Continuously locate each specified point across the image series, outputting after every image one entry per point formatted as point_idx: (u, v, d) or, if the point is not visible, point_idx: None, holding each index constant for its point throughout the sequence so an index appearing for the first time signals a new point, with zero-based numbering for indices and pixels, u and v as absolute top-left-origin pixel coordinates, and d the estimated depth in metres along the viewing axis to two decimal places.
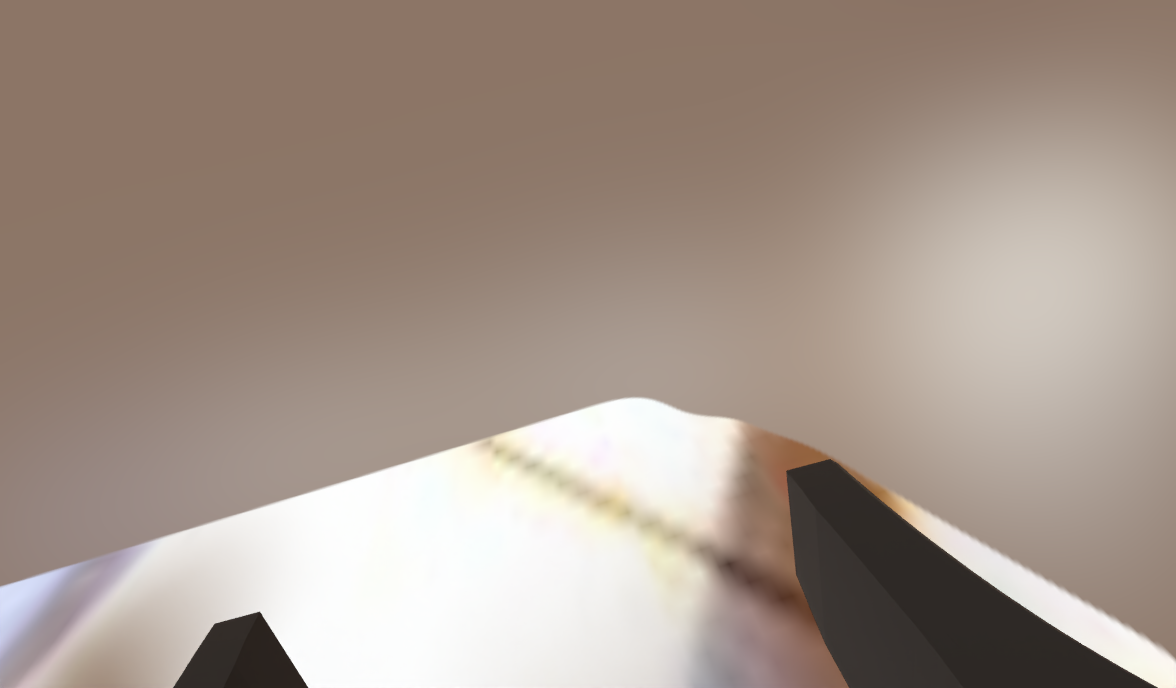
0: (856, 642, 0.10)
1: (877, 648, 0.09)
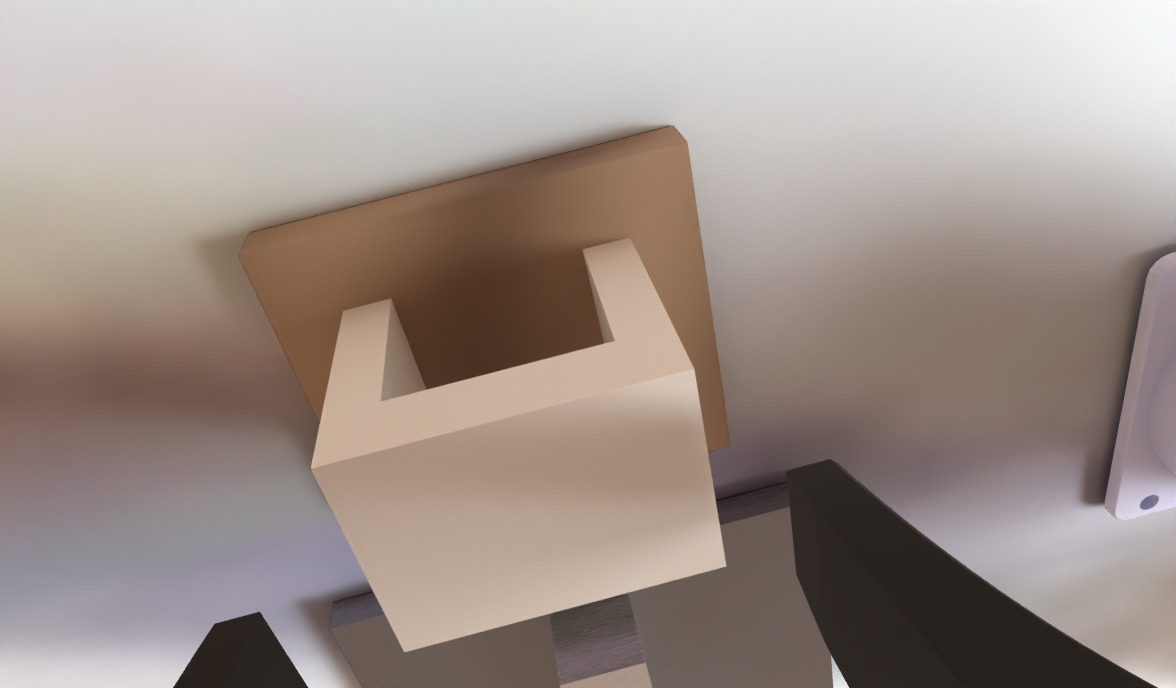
0: (856, 642, 0.10)
1: (877, 648, 0.09)
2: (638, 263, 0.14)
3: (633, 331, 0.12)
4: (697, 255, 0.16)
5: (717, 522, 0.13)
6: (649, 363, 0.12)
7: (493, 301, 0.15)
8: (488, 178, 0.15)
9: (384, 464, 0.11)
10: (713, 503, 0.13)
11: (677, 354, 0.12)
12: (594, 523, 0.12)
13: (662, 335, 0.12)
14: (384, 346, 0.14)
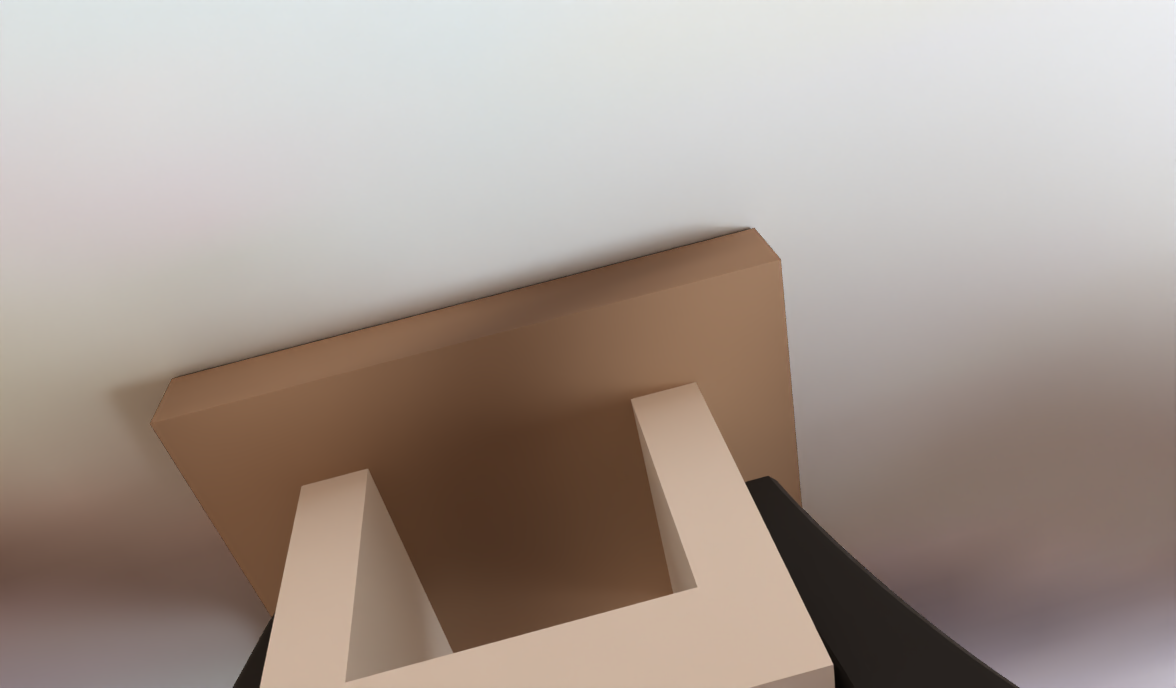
0: None
1: None
2: (714, 431, 0.10)
3: (724, 569, 0.08)
4: (786, 401, 0.11)
5: None
6: (758, 643, 0.08)
7: (508, 467, 0.11)
8: (501, 304, 0.11)
9: None
10: None
11: (800, 627, 0.08)
12: None
13: (770, 583, 0.08)
14: (356, 562, 0.09)
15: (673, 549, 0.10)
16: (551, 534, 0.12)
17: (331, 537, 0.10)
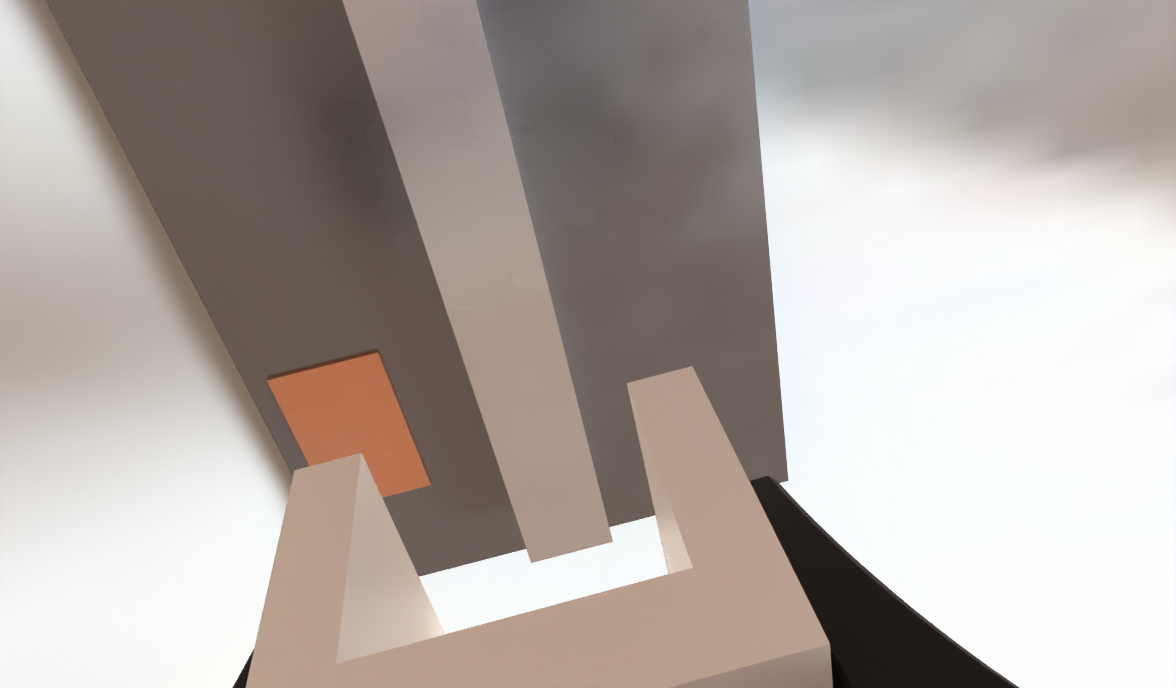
0: None
1: None
2: (710, 415, 0.10)
3: (721, 551, 0.08)
4: None
5: None
6: (755, 623, 0.07)
7: None
8: None
9: None
10: None
11: (796, 607, 0.08)
12: None
13: (766, 563, 0.08)
14: (348, 546, 0.09)
15: (669, 533, 0.10)
16: None
17: (324, 520, 0.10)
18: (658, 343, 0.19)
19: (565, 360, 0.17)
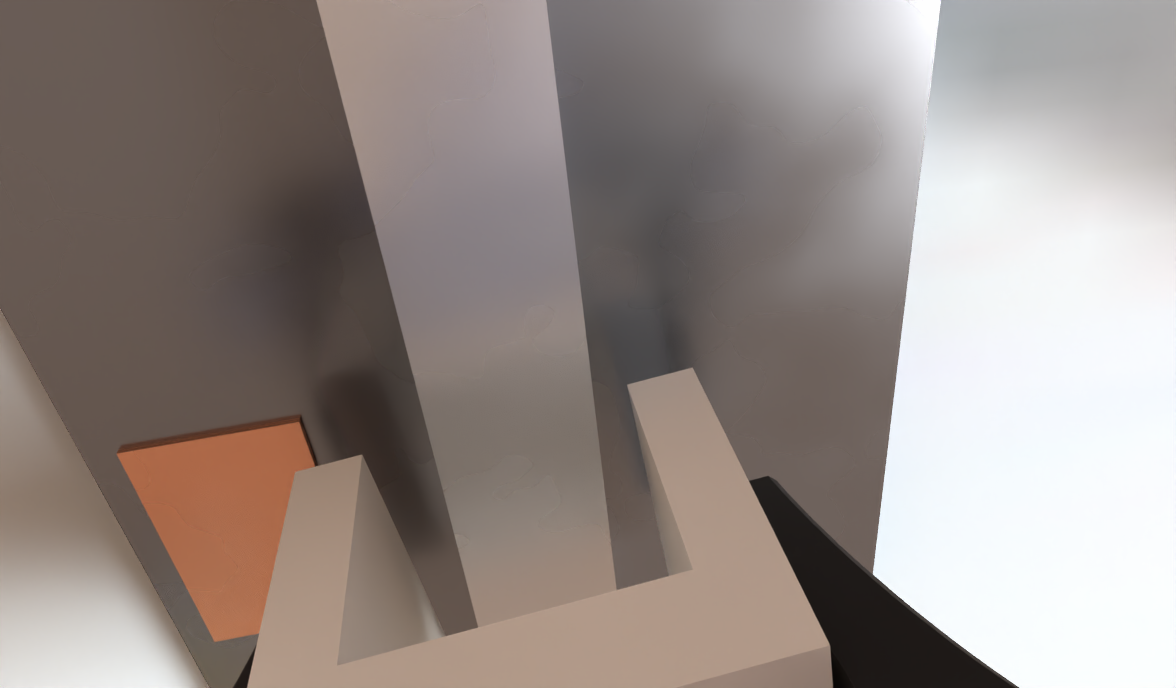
0: None
1: None
2: (710, 416, 0.10)
3: (721, 552, 0.08)
4: None
5: None
6: (754, 626, 0.07)
7: None
8: None
9: None
10: None
11: (796, 609, 0.08)
12: None
13: (766, 565, 0.08)
14: (349, 547, 0.09)
15: (669, 535, 0.10)
16: None
17: (324, 522, 0.10)
18: None
19: (599, 466, 0.10)
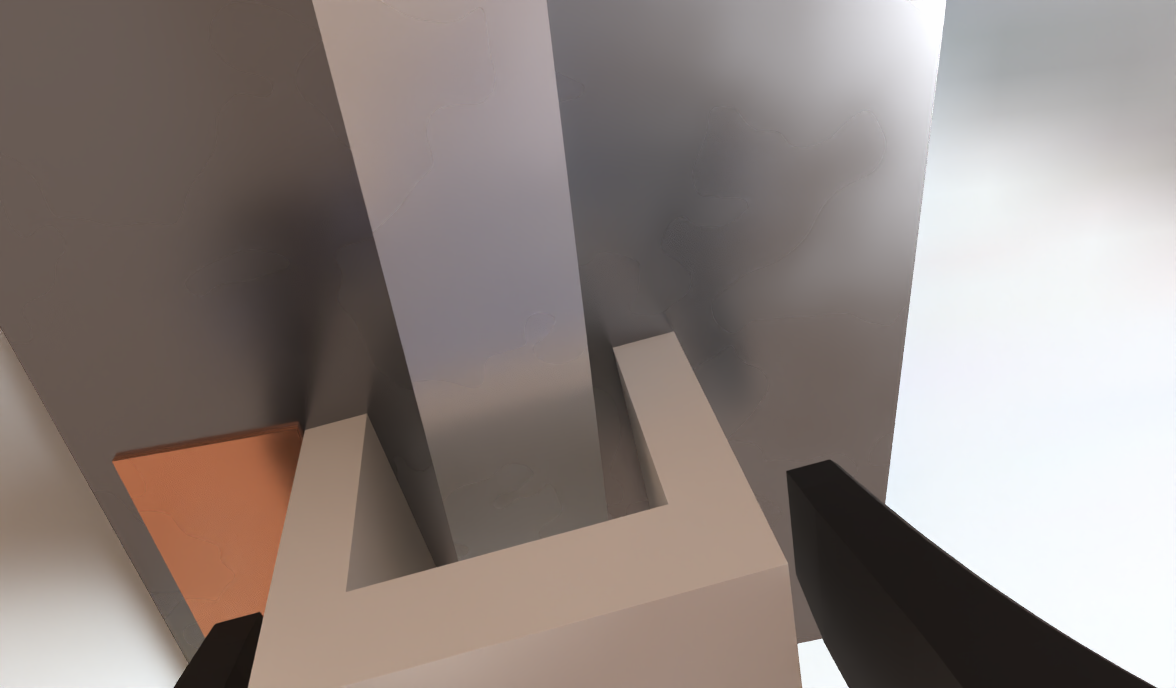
0: (856, 642, 0.10)
1: (877, 648, 0.09)
2: (688, 373, 0.11)
3: (693, 489, 0.09)
4: None
5: None
6: (722, 549, 0.08)
7: None
8: None
9: None
10: None
11: (759, 534, 0.08)
12: None
13: (734, 499, 0.09)
14: (354, 493, 0.10)
15: (651, 484, 0.11)
16: None
17: (332, 472, 0.11)
18: None
19: (600, 475, 0.10)
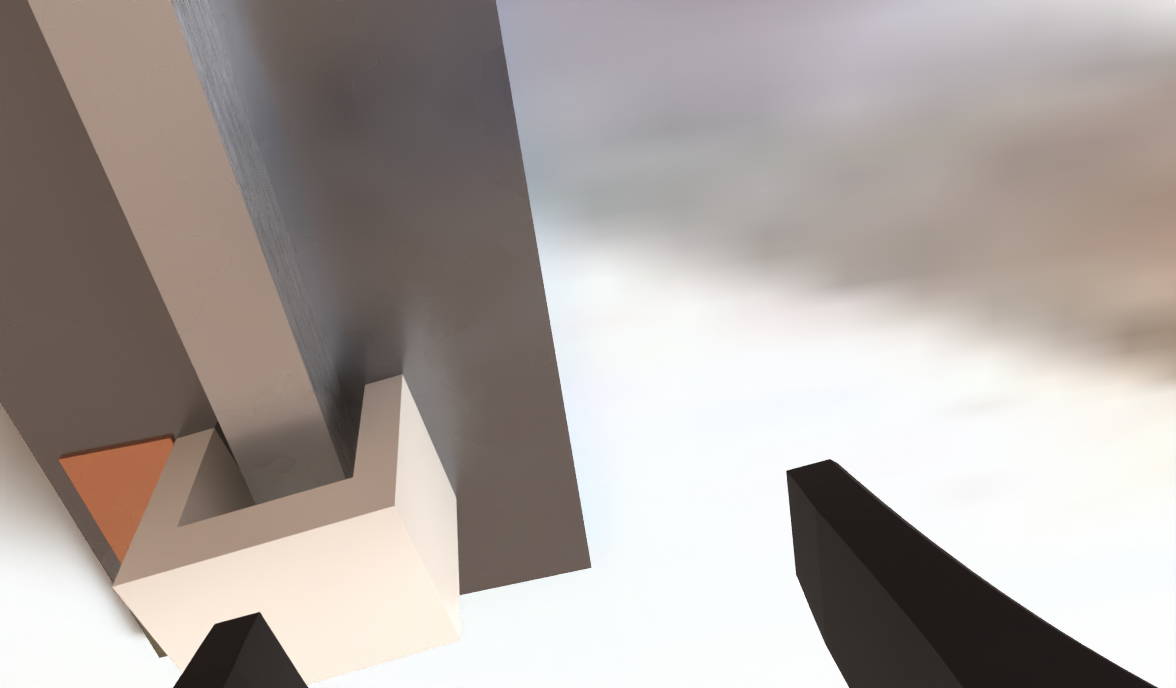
0: (856, 642, 0.10)
1: (877, 648, 0.09)
2: (397, 401, 0.18)
3: (368, 469, 0.16)
4: None
5: (444, 609, 0.17)
6: (367, 499, 0.16)
7: None
8: None
9: (168, 581, 0.15)
10: (437, 596, 0.17)
11: (389, 491, 0.16)
12: (344, 614, 0.16)
13: (386, 473, 0.16)
14: (195, 475, 0.18)
15: None
16: None
17: (186, 463, 0.18)
18: (453, 440, 0.20)
19: (338, 462, 0.18)
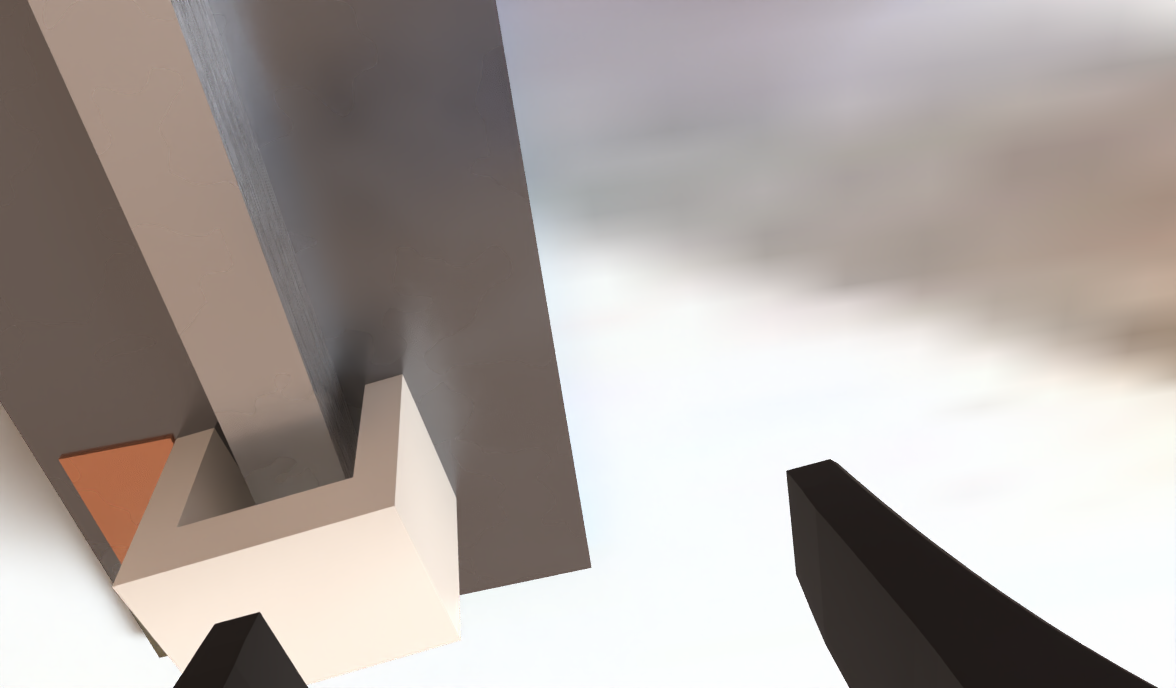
0: (856, 642, 0.10)
1: (877, 648, 0.09)
2: (397, 401, 0.18)
3: (368, 469, 0.16)
4: None
5: (444, 609, 0.17)
6: (367, 499, 0.16)
7: None
8: None
9: (168, 581, 0.15)
10: (437, 596, 0.17)
11: (389, 491, 0.16)
12: (344, 614, 0.16)
13: (386, 473, 0.16)
14: (195, 475, 0.18)
15: None
16: None
17: (186, 463, 0.18)
18: (453, 440, 0.20)
19: (338, 462, 0.18)
